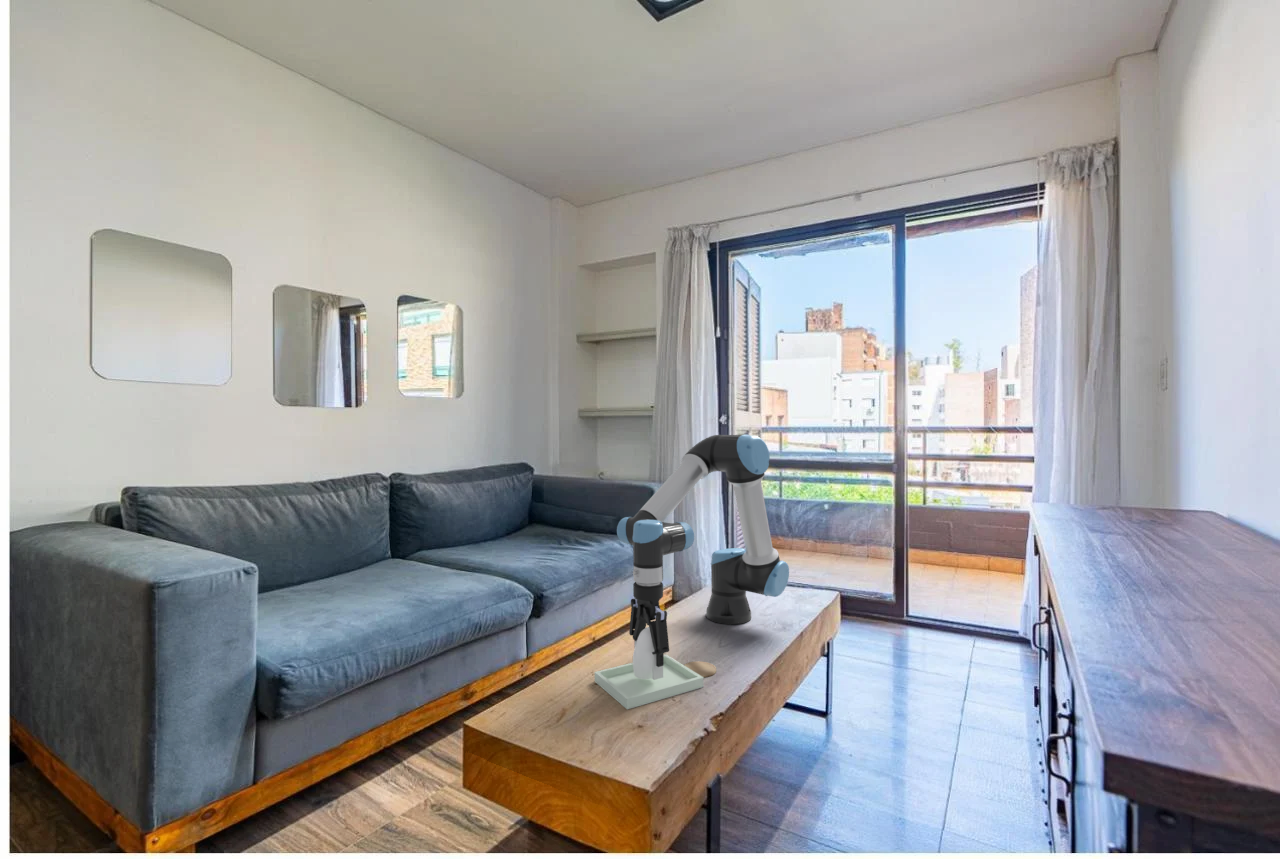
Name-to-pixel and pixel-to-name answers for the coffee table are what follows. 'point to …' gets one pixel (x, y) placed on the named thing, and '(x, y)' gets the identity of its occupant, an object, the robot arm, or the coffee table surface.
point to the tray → (647, 683)
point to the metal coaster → (702, 668)
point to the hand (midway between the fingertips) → (648, 671)
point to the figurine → (643, 655)
